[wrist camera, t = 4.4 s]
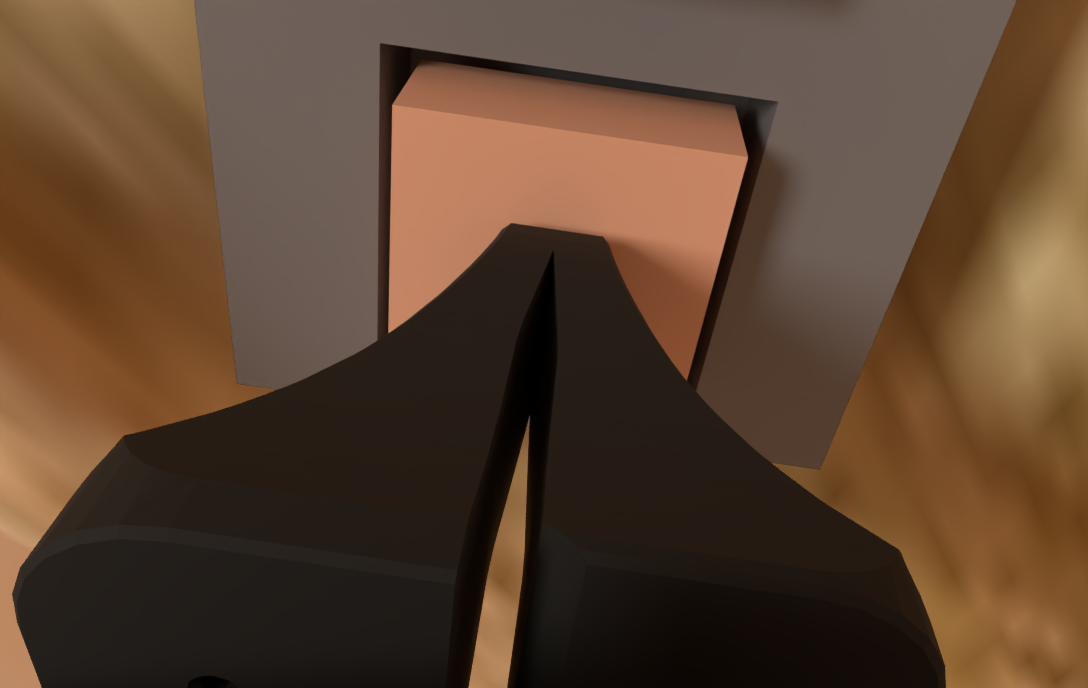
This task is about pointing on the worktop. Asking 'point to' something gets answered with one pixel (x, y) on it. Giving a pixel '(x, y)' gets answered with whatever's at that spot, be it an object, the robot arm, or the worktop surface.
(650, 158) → the terracotta key
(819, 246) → the keypad
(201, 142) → the worktop surface
